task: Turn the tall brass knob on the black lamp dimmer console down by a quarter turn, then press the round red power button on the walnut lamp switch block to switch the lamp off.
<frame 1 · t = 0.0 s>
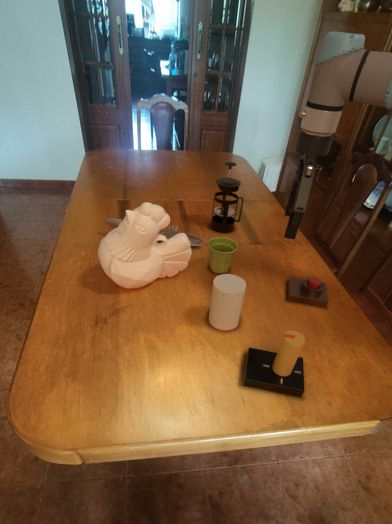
hand: (289, 226, 84), 20 cm above the table, tool pointing down, fingers open, 13 cm apart
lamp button: (314, 282, 94), point 4 cm above the table, slide at 0.1 cm
french press: (223, 228, 125), on the table
cup: (223, 320, 86), on the table
spaceship: (154, 242, 113), on the table
decorative rooster: (147, 282, 96), on the table
plant pot: (219, 269, 104), on the table
dimmer: (272, 374, 74), on the table
switch block: (306, 294, 97), on the table
dimmer knob: (288, 353, 68), point 8 cm above the table, hinge at 0.0°
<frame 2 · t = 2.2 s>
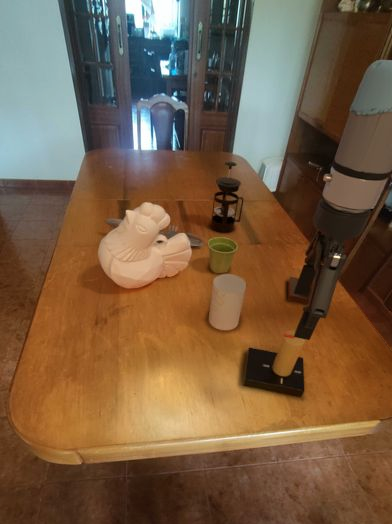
hand: (301, 314, 62), 18 cm above the table, tool pointing down, fingers open, 13 cm apart
nothing on the table moved.
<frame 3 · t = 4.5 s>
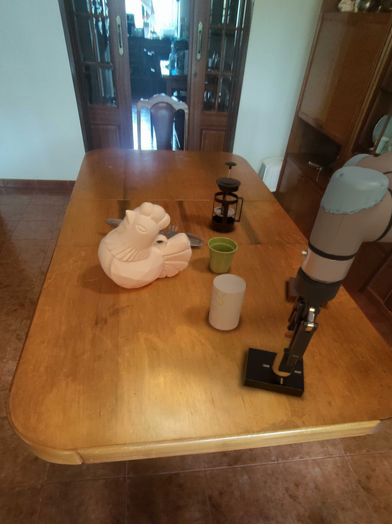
hand: (284, 362, 70), 5 cm above the table, tool pointing down, fingers closed on dimmer knob, 4 cm apart
dimmer knob: (288, 353, 68), point 8 cm above the table, hinge at -0.1°, touching gripper
everything else where it was.
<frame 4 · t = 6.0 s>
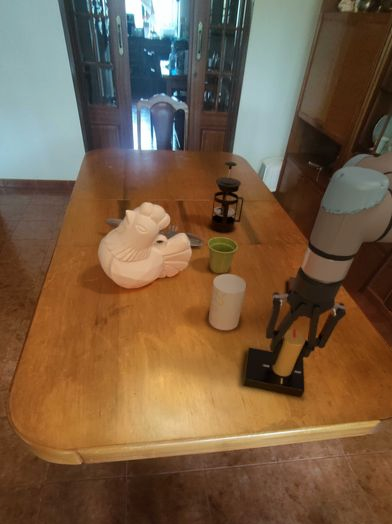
hand: (284, 362, 70), 5 cm above the table, tool pointing down, fingers closed on dimmer knob, 4 cm apart
dimmer knob: (288, 353, 68), point 8 cm above the table, hinge at -89.9°, touching gripper
everything else where it was.
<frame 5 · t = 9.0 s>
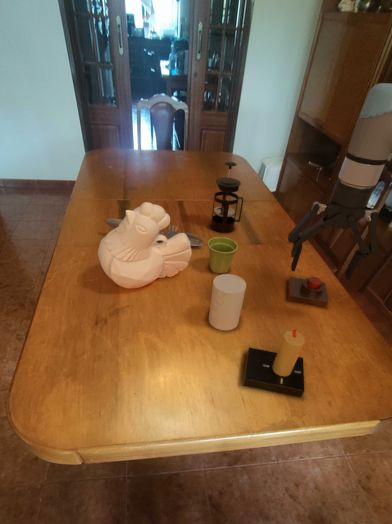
hand: (319, 272, 80), 14 cm above the table, tool pointing down, fingers open, 13 cm apart
dimmer knob: (288, 353, 68), point 8 cm above the table, hinge at -90.3°
everything else where it was.
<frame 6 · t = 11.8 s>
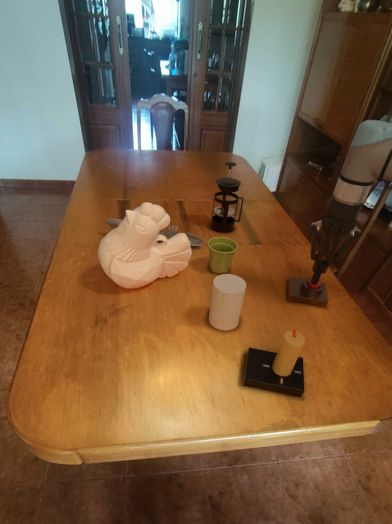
hand: (314, 281, 94), 5 cm above the table, tool pointing down, fingers closed
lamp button: (313, 284, 94), point 4 cm above the table, slide at -0.5 cm, touching gripper
everything else where it was.
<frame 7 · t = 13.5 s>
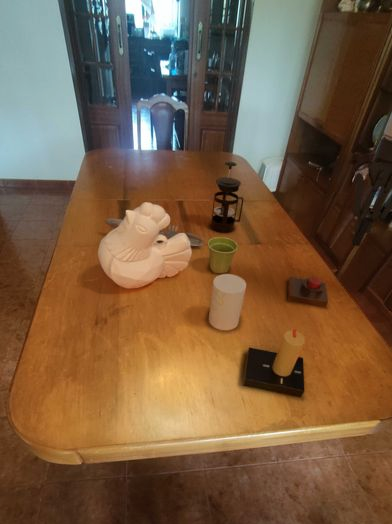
hand: (355, 243, 84), 18 cm above the table, tool pointing down, fingers closed
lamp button: (314, 282, 94), point 4 cm above the table, slide at 0.1 cm
everything else where it was.
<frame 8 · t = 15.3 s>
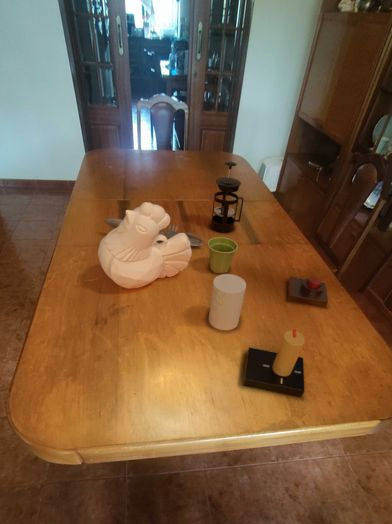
hand: (381, 229, 81), 22 cm above the table, tool pointing down, fingers closed
nothing on the table moved.
at the end: dimmer knob at -90° (first picture: +0°); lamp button pushed in 1.0 cm at the most during the clip, back to where it started at the end; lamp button slide at 0.1 cm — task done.
